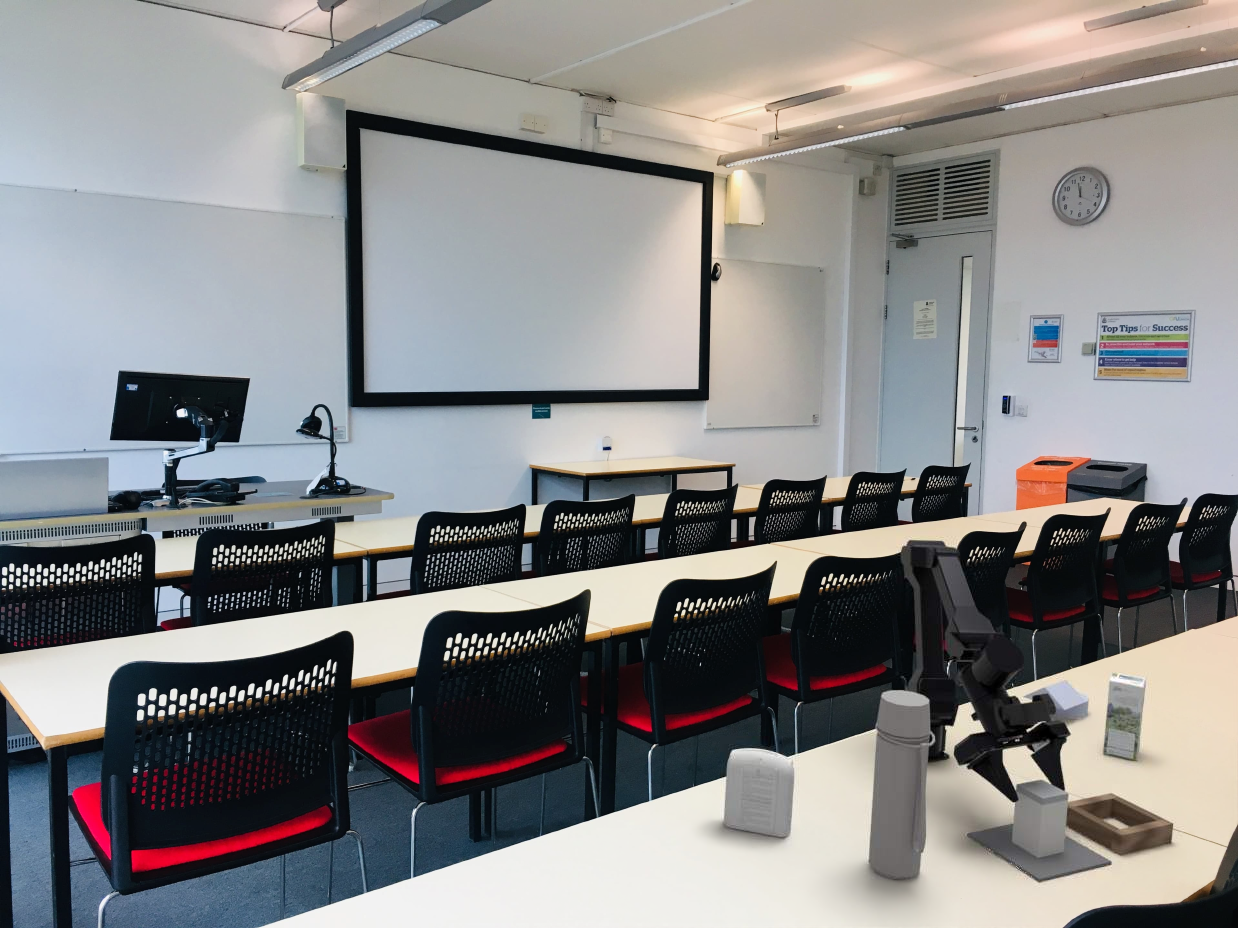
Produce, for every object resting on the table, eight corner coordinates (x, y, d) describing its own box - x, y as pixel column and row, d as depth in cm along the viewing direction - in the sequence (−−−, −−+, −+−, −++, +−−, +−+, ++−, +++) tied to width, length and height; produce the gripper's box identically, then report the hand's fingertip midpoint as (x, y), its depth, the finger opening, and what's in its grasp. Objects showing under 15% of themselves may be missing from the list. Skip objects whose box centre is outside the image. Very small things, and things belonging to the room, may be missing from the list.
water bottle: (855, 861, 141) (865, 692, 138) (899, 851, 144) (910, 686, 141) (897, 894, 132) (909, 714, 130) (943, 883, 136) (955, 708, 133)
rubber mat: (1039, 881, 137) (1039, 878, 137) (966, 835, 150) (966, 832, 150) (1111, 863, 142) (1111, 861, 142) (1035, 820, 155) (1035, 818, 155)
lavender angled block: (1063, 726, 197) (1095, 713, 205) (1066, 693, 196) (1098, 681, 204) (1021, 712, 204) (1054, 700, 212) (1023, 680, 203) (1056, 670, 211)
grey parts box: (1038, 857, 143) (1043, 798, 142) (1011, 841, 147) (1016, 784, 146) (1063, 851, 145) (1068, 793, 144) (1036, 836, 149) (1041, 779, 148)
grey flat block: (793, 827, 150) (797, 749, 149) (789, 840, 146) (793, 760, 145) (726, 816, 153) (730, 740, 152) (721, 828, 149) (724, 750, 148)
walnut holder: (1119, 854, 145) (1121, 835, 145) (1059, 821, 155) (1061, 803, 155) (1171, 842, 150) (1173, 823, 149) (1109, 810, 160) (1111, 792, 159)
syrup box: (1139, 751, 185) (1146, 676, 183) (1136, 762, 180) (1143, 685, 178) (1106, 744, 188) (1112, 670, 186) (1102, 754, 183) (1108, 678, 181)
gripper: (973, 682, 145) (1025, 785, 136) (1066, 669, 152) (1121, 766, 143) (932, 715, 153) (979, 814, 144) (1022, 701, 160) (1072, 794, 151)
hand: (1039, 796), depth 146 cm, fingers open, 9 cm apart
